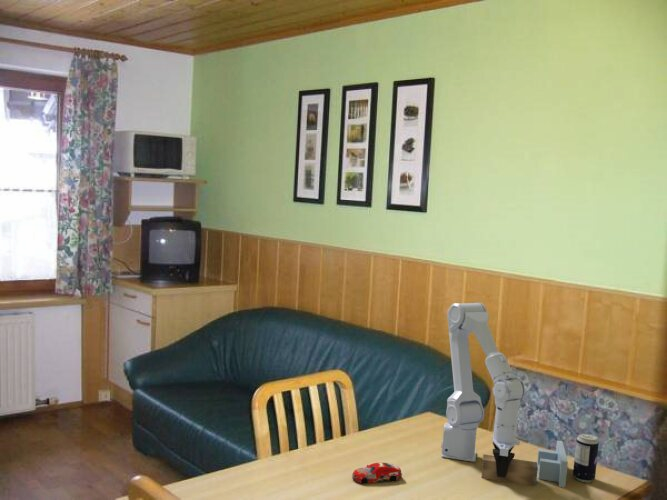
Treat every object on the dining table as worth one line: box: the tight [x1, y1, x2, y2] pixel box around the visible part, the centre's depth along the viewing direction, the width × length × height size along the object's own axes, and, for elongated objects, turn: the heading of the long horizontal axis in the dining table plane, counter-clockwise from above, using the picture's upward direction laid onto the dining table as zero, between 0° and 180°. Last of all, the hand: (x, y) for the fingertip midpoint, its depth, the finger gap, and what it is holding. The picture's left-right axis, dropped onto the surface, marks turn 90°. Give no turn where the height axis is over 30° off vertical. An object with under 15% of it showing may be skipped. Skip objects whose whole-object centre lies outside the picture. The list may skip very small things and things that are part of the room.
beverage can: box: [572, 432, 600, 483], centre depth 190 cm, size 6×6×12 cm
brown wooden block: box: [481, 454, 538, 487], centre depth 187 cm, size 14×4×5 cm, turn 77°
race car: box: [351, 462, 403, 485], centre depth 181 cm, size 13×5×4 cm, turn 107°
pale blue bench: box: [537, 440, 569, 489], centre depth 192 cm, size 6×16×7 cm, turn 167°
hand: (501, 472), depth 187 cm, fingers open, 5 cm apart
